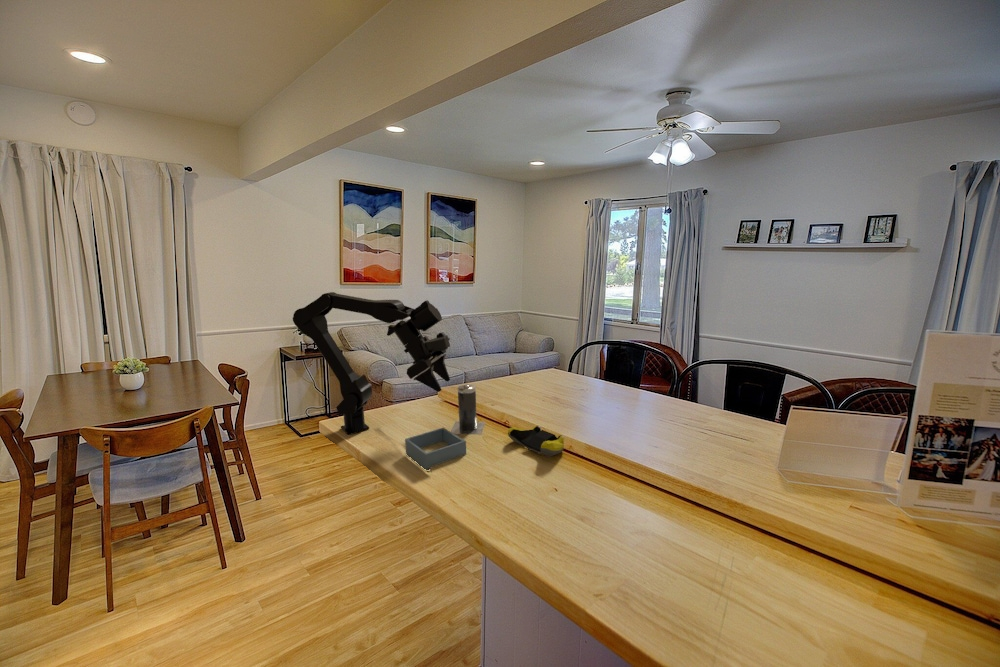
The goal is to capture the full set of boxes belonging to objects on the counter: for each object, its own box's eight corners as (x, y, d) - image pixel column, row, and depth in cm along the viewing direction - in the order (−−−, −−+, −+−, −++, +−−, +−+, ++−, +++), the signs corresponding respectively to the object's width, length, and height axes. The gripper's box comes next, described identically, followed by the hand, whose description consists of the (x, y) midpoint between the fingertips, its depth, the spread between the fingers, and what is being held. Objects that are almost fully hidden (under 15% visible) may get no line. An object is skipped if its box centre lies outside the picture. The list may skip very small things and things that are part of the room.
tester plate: (449, 436, 123) (449, 433, 123) (456, 424, 132) (455, 421, 131) (481, 437, 122) (481, 434, 122) (485, 424, 131) (485, 421, 131)
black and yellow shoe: (547, 467, 105) (573, 453, 112) (547, 445, 104) (573, 433, 111) (504, 447, 116) (530, 435, 123) (504, 427, 115) (530, 417, 122)
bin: (406, 454, 113) (404, 438, 112) (444, 442, 119) (443, 427, 119) (426, 471, 104) (425, 454, 103) (466, 457, 111) (465, 441, 110)
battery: (456, 426, 127) (454, 385, 125) (470, 422, 130) (469, 381, 128) (465, 432, 123) (463, 389, 121) (480, 427, 126) (478, 385, 124)
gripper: (424, 331, 111) (459, 381, 113) (444, 318, 129) (474, 362, 131) (391, 353, 114) (425, 402, 115) (415, 338, 132) (444, 381, 133)
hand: (444, 385), depth 123 cm, fingers open, 9 cm apart
